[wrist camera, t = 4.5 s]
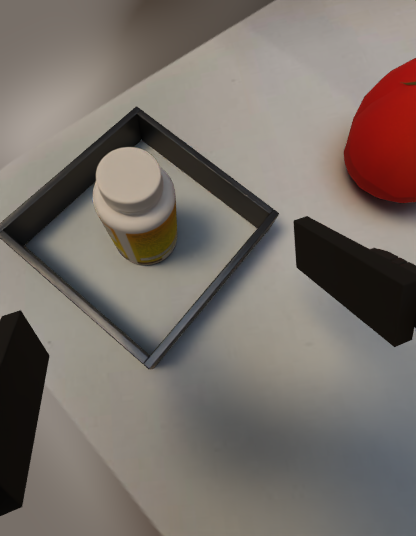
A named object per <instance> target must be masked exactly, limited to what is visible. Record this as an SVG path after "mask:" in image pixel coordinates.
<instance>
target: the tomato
mask: <svg viewBox="0 0 416 536" xmlns="http://www.w3.org/2000/svg"><path fill="white" fill-rule="evenodd" d="M344 160H345V165H346V168H347V171H348V173H349V175H350V176H351V177H352V179H353V180H354V181H355V182H356V184H357V185H358V186H359V187H360V188H361V189H363V190H364V191H366V192H368V193H370V194H371V195H373V196H375V197H377V198H380V199H384V200H389V201H393V202H398V203H409V202H416V58H414V59H412V60H411V61H409V62H407V63H405V64H403V65H401V66H399V67H398V68H396V69H394V70H392V71H391V72H389V73H388V74H387V75H386V76H385V77H383V78H382V79H381V80H380V81H379V82H378V83H377V84H376V85H375V86H374V87H373V89H372V90H371V91H370V92H369V93H368V94H367V95H366V96H365V97H364V99H363V101H362V103H361V105H360V107H359V109H358V110H357V112H356V114H355V116H354V118H353V122H352V126H351V129H350V133H349V137H348V140H347V143H346V146H345V150H344Z"/></svg>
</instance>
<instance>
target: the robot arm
mask: <svg viewBox="0 0 416 536" xmlns="http://www.w3.org/2000/svg"><path fill="white" fill-rule="evenodd" d="M294 235H295V251H296V266H297V268H298V269H299V270H300V271H302V272H303V273H304V274H305V275H306V276H308V277H309V278H310V279H311V280H313V281H314V282H315V283H316V284H318V285H319V286H320V287H321V288H322V289H324V290H325V291H326V292H327V293H329V294H330V295H331V296H332V297H333V298H335V299H336V300H337V301H338V302H340V303H341V304H342V305H343V306H345V307H346V308H347V309H348V310H349V311H351V312H352V313H353V314H354V315H356V316H357V317H358V318H359V319H361V320H362V321H363V322H364V323H365V324H367V325H368V326H369V327H370V328H372V329H373V330H374V331H375V332H377V333H378V334H379V335H380V336H381V337H383V338H384V339H385V340H386V341H388V342H389V343H390V344H391V345H393V346H394V347H396V346H398V345H401V344H403V343H405V342H408V341H410V340H412V337H413V331H414V327H415V328H416V265H414V264H412V263H410V262H408V263H407V261H406V260H404V259H402V258H398V256H396V255H394V254H392V253H390V252H388V251H384V250H380V249H376V248H372V249H368V248H366V247H364V246H362V245H360V244H358V243H357V242H355V241H353V240H351V239H349V238H347V237H345V236H343V235H342V234H340V233H338V232H336V231H334V230H332V229H330V228H328V227H326V226H325V225H323V224H321V223H319V222H317V221H315V220H313V219H311V218H309V217H308V216H306V217H303V218H300V219H297V220H294ZM48 361H49V354H48V353H47V351H46V349H45V348H44V346H43V345H42V343H41V342H40V340H39V338H38V337H37V335H36V334H35V332H34V330H33V329H32V327H31V326H30V324H29V323H28V321H27V319H26V318H25V316H24V315H23V313H22V312H21V310H20V311H17V312H14V313H11V314H8V315H5V316H2V318H1V320H0V516H2V515H4V514H7V513H8V512H11V511H13V510H16V509H18V508H21V507H22V504H23V499H24V493H25V488H26V482H27V476H28V471H29V465H30V460H31V454H32V449H33V443H34V438H35V432H36V427H37V421H38V415H39V410H40V405H41V399H42V394H43V388H44V383H45V377H46V372H47V366H48Z"/></svg>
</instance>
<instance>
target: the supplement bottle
mask: <svg viewBox="0 0 416 536" xmlns="http://www.w3.org/2000/svg"><path fill="white" fill-rule="evenodd" d="M93 204H94V207H95V210H96V212H97V214H98V216H99V218H100V219H101V221H102V223H103V225H104V227H105V228H106V230H107V232H108V234H109V235H110V237H111V239H112V241H113V242H114V244H115V246H116V247H117V249H118V251H119V252H120V253H121V254H122V256H123V257H125V258H126V259H127V260H129V261H131V262H133V263H136V264H140V265H151V264H155V263H158V262H160V261H162V260H164V259H165V258H166V257H168V256H169V255H170V253H171V252H172V251H173V249H174V247H175V245H176V241H177V218H176V198H175V189H174V185H173V182H172V180H171V178H170V177H169V175H168V174H167V173H166V172H165V171H164V170H163V169H162V168H161V167H160V166H159V164H158V162H157V160H156V159H155V158H154V157H153V156H152V155H151V154H150V153H148V152H146V151H145V150H142V149H139V148H135V147H123V148H119V149H116V150H113V151H111V152H110V153H108V154H107V155H106V156H105V157H103V159H102V160H101V161H100V163H99V165H98V167H97V170H96V183H95V185H94V188H93Z"/></svg>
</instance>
